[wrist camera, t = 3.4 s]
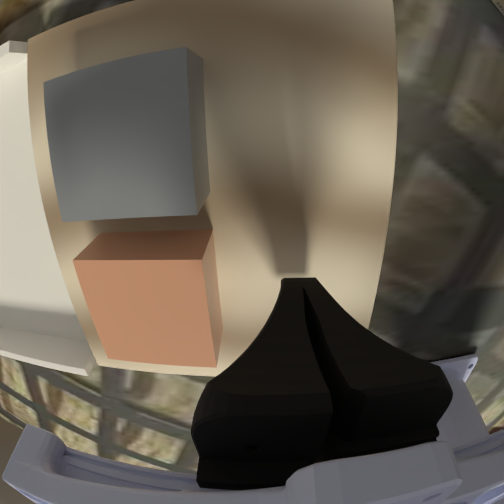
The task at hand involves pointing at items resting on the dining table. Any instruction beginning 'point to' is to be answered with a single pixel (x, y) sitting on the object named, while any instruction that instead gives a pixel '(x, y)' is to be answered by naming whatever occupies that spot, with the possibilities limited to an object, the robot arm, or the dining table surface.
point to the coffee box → (499, 5)
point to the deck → (254, 147)
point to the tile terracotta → (154, 296)
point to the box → (30, 243)
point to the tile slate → (129, 137)
